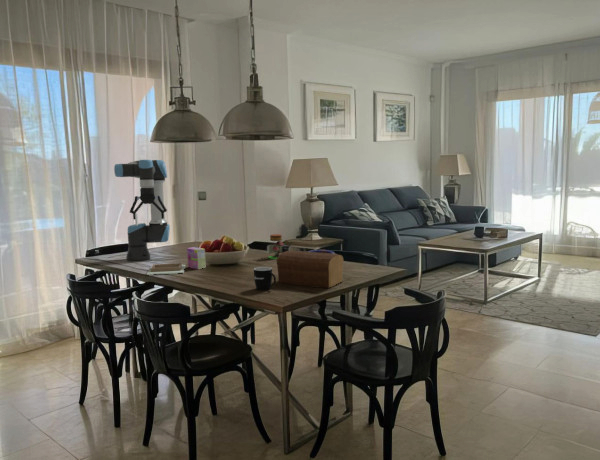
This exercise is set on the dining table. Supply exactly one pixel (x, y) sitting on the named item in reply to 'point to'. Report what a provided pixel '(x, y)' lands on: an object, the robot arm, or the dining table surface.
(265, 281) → the mug
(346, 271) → the dining table surface
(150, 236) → the robot arm
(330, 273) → the wooden bread box
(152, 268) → the white shallow tray
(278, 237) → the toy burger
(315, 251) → the bowl
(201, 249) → the box
